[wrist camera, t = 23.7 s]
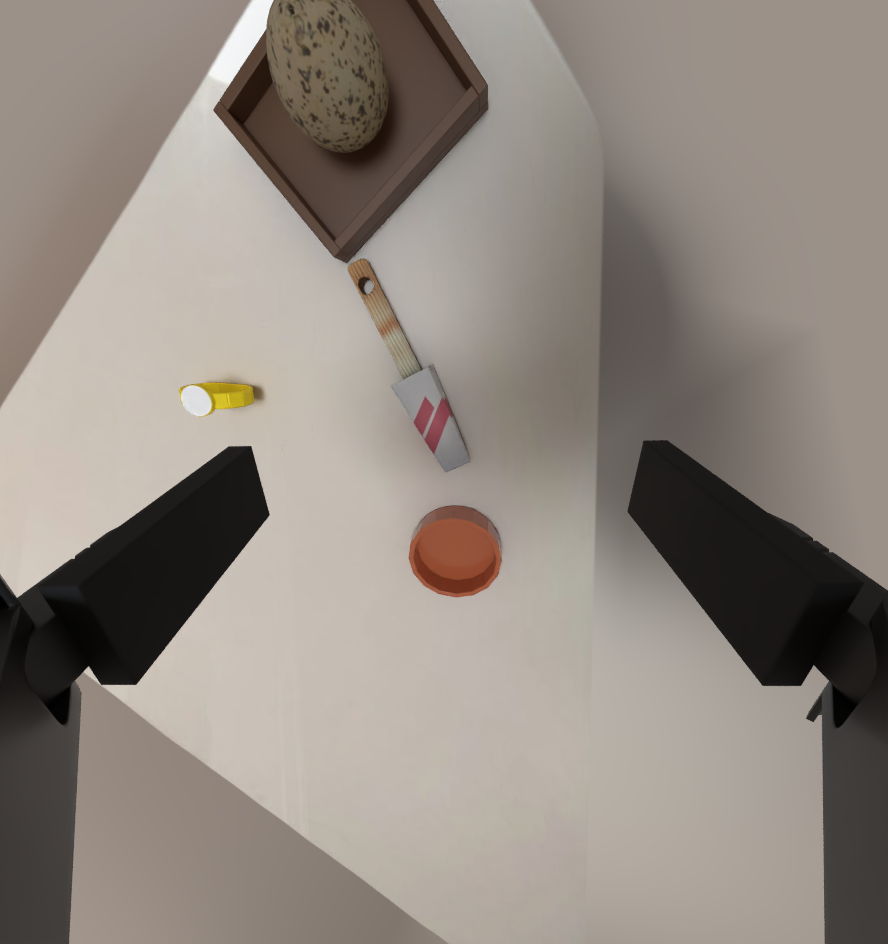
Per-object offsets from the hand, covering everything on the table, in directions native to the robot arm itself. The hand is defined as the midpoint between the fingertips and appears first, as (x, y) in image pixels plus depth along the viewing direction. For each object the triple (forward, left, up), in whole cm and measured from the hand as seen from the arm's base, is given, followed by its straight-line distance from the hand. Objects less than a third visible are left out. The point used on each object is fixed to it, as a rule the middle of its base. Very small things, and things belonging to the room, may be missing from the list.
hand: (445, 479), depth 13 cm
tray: (+12, -18, -24) cm, 33 cm away
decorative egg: (+12, -18, -24) cm, 32 cm away
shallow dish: (-2, +18, -24) cm, 30 cm away
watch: (+23, +5, -25) cm, 34 cm away
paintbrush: (+6, 0, -25) cm, 25 cm away
